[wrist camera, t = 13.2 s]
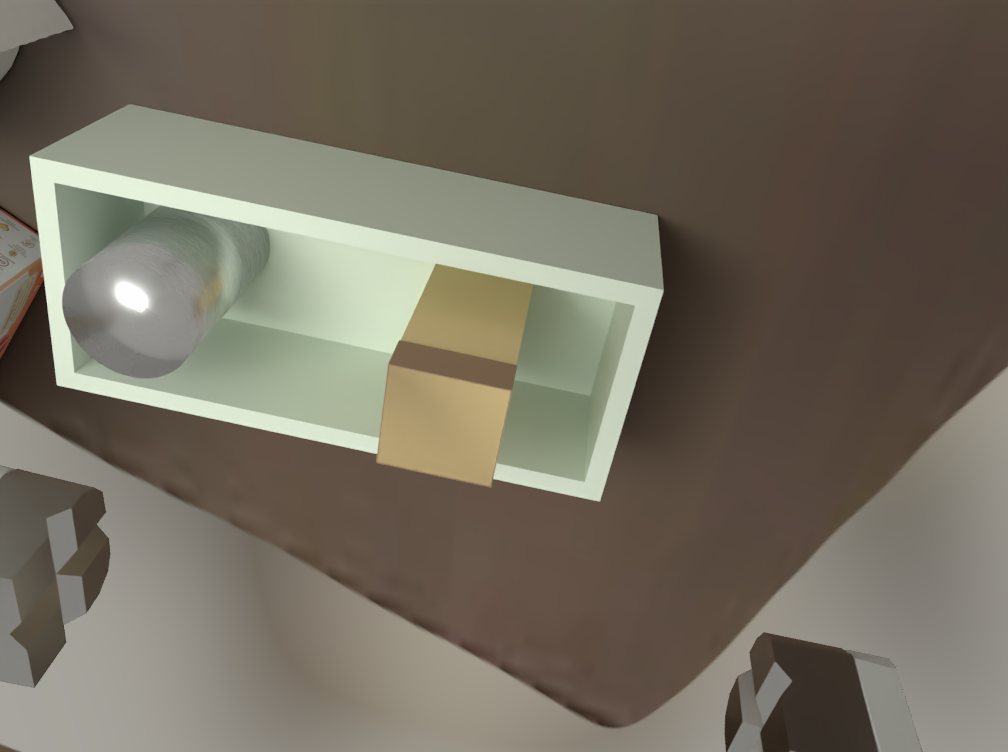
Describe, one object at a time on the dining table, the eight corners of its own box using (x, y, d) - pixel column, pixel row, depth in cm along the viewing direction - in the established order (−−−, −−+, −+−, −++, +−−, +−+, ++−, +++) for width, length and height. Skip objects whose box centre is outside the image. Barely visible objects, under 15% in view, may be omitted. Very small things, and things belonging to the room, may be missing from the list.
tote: (130, 103, 45) (29, 155, 38) (657, 214, 45) (663, 289, 37) (141, 305, 52) (56, 385, 44) (603, 404, 51) (599, 501, 44)
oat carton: (445, 240, 46) (388, 364, 35) (539, 260, 46) (512, 390, 35) (432, 323, 49) (376, 462, 38) (521, 342, 49) (491, 487, 38)
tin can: (160, 173, 46) (55, 246, 38) (271, 196, 46) (191, 275, 38) (164, 274, 49) (68, 363, 41) (268, 296, 49) (193, 390, 41)
